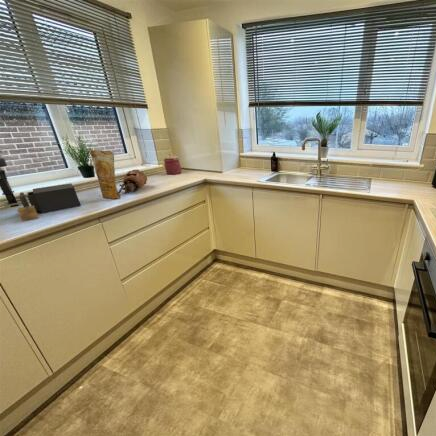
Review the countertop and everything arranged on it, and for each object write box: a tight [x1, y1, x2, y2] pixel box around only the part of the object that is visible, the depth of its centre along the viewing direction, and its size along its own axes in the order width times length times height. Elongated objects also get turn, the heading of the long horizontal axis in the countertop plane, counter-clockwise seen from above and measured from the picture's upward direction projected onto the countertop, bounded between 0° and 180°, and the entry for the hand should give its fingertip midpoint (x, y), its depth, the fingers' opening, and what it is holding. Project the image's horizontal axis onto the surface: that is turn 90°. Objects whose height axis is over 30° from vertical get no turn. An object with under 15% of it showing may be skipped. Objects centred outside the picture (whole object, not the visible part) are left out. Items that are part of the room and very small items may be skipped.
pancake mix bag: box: [89, 149, 121, 200], centre depth 143 cm, size 7×19×28 cm, turn 64°
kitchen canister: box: [162, 152, 182, 176], centre depth 211 cm, size 13×13×18 cm
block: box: [16, 205, 40, 222], centre depth 116 cm, size 6×6×6 cm
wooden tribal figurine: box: [118, 169, 148, 195], centre depth 162 cm, size 15×15×25 cm
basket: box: [3, 191, 41, 212], centre depth 125 cm, size 21×13×9 cm, turn 136°
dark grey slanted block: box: [32, 182, 82, 214], centre depth 131 cm, size 16×14×11 cm
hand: (14, 206), depth 120 cm, fingers closed
